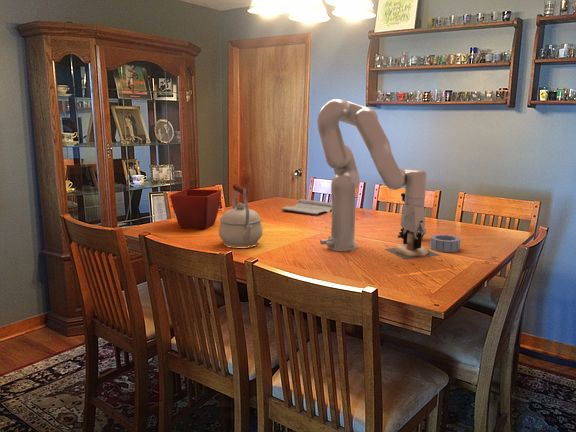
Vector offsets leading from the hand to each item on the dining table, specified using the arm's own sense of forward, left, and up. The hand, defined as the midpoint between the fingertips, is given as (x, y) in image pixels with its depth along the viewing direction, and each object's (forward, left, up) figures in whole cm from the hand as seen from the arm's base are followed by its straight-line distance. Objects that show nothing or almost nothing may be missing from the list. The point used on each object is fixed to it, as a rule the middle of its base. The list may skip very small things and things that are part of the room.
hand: (412, 245), depth 196 cm
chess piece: (+13, +20, -3) cm, 24 cm away
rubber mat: (0, 0, -3) cm, 3 cm away
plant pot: (-71, +76, -3) cm, 104 cm away
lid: (0, 0, -3) cm, 3 cm away
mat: (-4, +94, -4) cm, 94 cm away
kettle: (-60, +35, -3) cm, 70 cm away
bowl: (+16, 0, -3) cm, 16 cm away
